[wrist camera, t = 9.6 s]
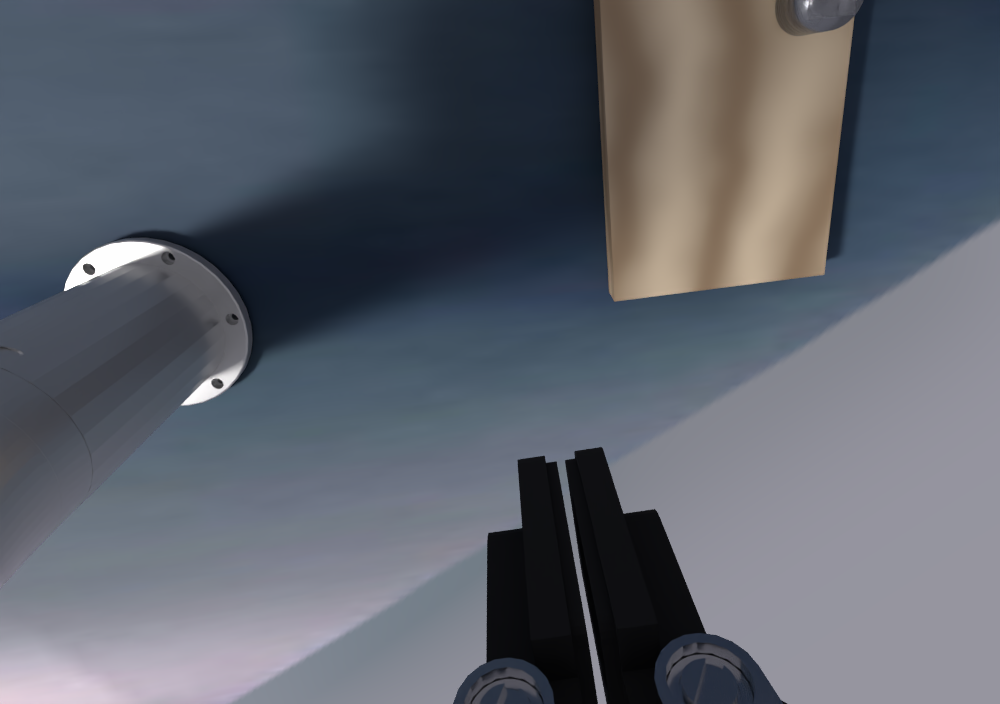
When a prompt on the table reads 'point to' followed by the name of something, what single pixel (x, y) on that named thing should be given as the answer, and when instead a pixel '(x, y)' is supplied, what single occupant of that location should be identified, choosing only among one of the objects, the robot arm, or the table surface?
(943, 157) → the table surface
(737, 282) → the stool seat
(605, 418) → the table surface
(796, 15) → the folding leg
